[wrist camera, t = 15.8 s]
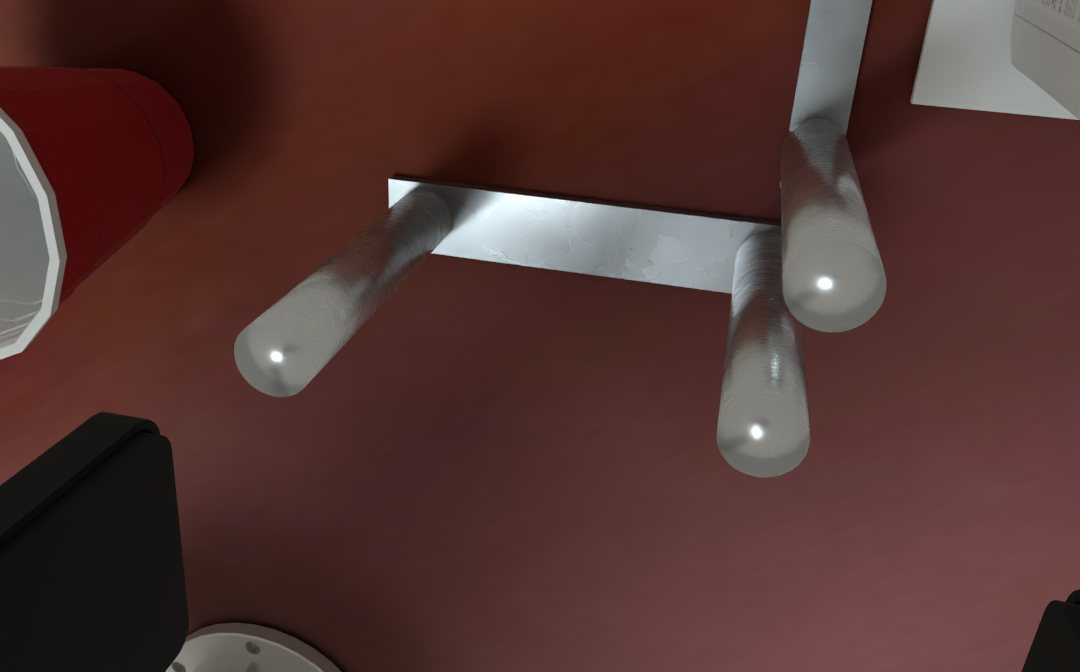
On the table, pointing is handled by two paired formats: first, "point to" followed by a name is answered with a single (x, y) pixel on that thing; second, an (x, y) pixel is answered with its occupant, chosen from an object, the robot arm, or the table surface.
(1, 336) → the plastic cup
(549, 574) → the table surface
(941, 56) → the mat
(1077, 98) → the photo printer
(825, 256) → the gate
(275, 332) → the gate
